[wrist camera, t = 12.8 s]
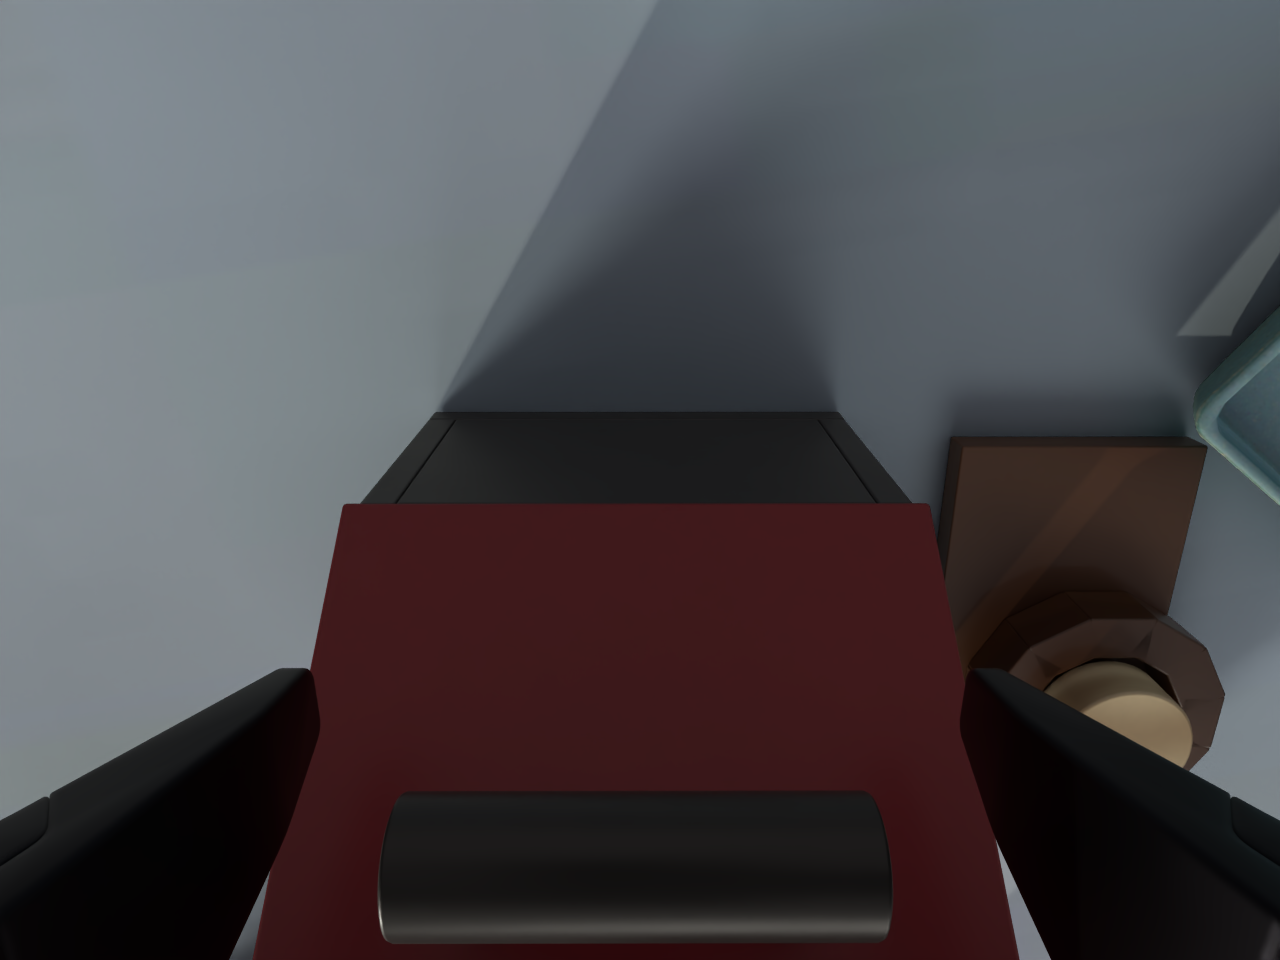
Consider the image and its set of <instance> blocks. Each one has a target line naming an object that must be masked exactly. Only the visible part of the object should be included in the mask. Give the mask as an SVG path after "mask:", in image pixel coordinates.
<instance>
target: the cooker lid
mask: <svg viewBox="0 0 1280 960" xmlns="http://www.w3.org/2000/svg"><path fill="white" fill-rule="evenodd" d="M310 671H311V672H312V675H313V677H314V682H315V688H316V695H317V701H318V708H319V714H320V733H319V737H318V741H317V744H316V747H315V750H314V753H313V756H312V759H311V762H310V765H309V768H308V771H307V774H306V777H305V780H304V783H303V786H302V789H301V792H300V795H299V798H298V801H297V804H296V808H295V811H294V814H293V817H292V820H291V822H290V825H289V828H288V831H287V833H286V836H285V838H284V841H283V843H282V845H281V848H280V850H279V852H278V854H277V856H276V859H275V861H274V863H273V865H272V867H271V870H270V875H269V880H268V885H267V890H266V895H265V900H264V905H263V910H262V915H261V920H260V925H259V930H258V935H257V940H256V945H255V950H254V955H253V960H1020V959H1019V954H1018V949H1017V944H1016V939H1015V934H1014V929H1013V924H1012V919H1011V914H1010V909H1009V904H1008V899H1007V894H1006V889H1005V884H1004V879H1003V874H1002V869H1001V863H1000V858H999V853H998V848H997V843H996V838H995V836H994V833H993V831H992V828H991V825H990V822H989V820H988V817H987V814H986V811H985V808H984V805H983V801H982V798H981V795H980V792H979V789H978V786H977V783H976V780H975V777H974V774H973V771H972V768H971V765H970V762H969V759H968V756H967V753H966V750H965V747H964V744H963V741H962V737H961V733H960V714H961V708H962V701H963V695H964V688H965V681H964V676H963V671H962V666H961V661H960V656H959V651H958V646H957V641H956V636H955V631H954V626H953V621H952V616H951V611H950V606H949V601H948V596H947V590H946V585H945V580H944V575H943V570H942V565H941V560H940V555H939V550H938V545H937V540H936V535H935V530H934V525H933V520H932V515H931V510H930V506H929V504H926V503H748V504H345V505H344V506H343V508H342V513H341V518H340V523H339V528H338V533H337V538H336V543H335V548H334V553H333V558H332V563H331V568H330V573H329V578H328V583H327V588H326V593H325V599H324V604H323V609H322V614H321V619H320V624H319V629H318V634H317V639H316V644H315V649H314V654H313V659H312V664H311V669H310Z"/></svg>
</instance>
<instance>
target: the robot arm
mask: <svg viewBox="0 0 1280 960" xmlns="http://www.w3.org/2000/svg"><path fill="white" fill-rule="evenodd" d="M319 733H320V714H319V708H318V701H317V695H316V688H315V682H314V677H313V675H312V672H311V671H310V670H308V669H306V668H281V669H278V670H276V671H274V672H272V673H270V674H268V675H266V676H265V677H263V678H261V679H259V680H257V681H255V682H254V683H252V684H250V685H248V686H246V687H244V688H243V689H241V690H239V691H237V692H235V693H233V694H232V695H230V696H228V697H226V698H224V699H222V700H221V701H219V702H217V703H215V704H213V705H212V706H210V707H208V708H206V709H204V710H202V711H201V712H199V713H197V714H195V715H193V716H191V717H190V718H188V719H186V720H184V721H182V722H180V723H179V724H177V725H175V726H173V727H171V728H169V729H168V730H166V731H164V732H162V733H160V734H158V735H157V736H155V737H153V738H151V739H149V740H147V741H146V742H144V743H142V744H140V745H138V746H136V747H135V748H133V749H131V750H129V751H127V752H126V753H124V754H122V755H120V756H118V757H116V758H115V759H113V760H111V761H109V762H107V763H105V764H104V765H102V766H100V767H98V768H96V769H94V770H93V771H91V772H89V773H87V774H85V775H83V776H82V777H80V778H78V779H76V780H74V781H72V782H71V783H69V784H67V785H65V786H63V787H61V788H60V789H58V790H56V791H54V792H52V793H51V794H50V799H49V798H48V797H43V798H41V799H39V800H37V801H36V802H34V803H32V804H30V805H28V806H27V807H25V808H23V809H21V810H19V811H17V812H16V813H14V814H12V815H10V816H8V817H6V818H4V819H2V820H0V960H229V958H230V956H231V954H232V952H233V950H234V947H235V945H236V943H237V941H238V939H239V937H240V934H241V932H242V930H243V928H244V926H245V924H246V921H247V919H248V917H249V915H250V913H251V911H252V908H253V906H254V904H255V902H256V900H257V898H258V895H259V893H260V891H261V889H262V887H263V885H264V882H265V880H266V878H267V876H268V874H269V872H270V869H271V867H272V865H273V863H274V861H275V859H276V856H277V854H278V852H279V850H280V848H281V845H282V843H283V841H284V838H285V836H286V833H287V831H288V828H289V825H290V822H291V820H292V817H293V814H294V811H295V808H296V804H297V801H298V798H299V795H300V792H301V789H302V786H303V783H304V780H305V777H306V774H307V771H308V768H309V765H310V762H311V759H312V756H313V753H314V750H315V747H316V744H317V741H318V737H319ZM960 733H961V737H962V741H963V744H964V747H965V750H966V753H967V756H968V759H969V762H970V765H971V768H972V771H973V774H974V777H975V780H976V783H977V786H978V789H979V792H980V795H981V798H982V801H983V805H984V808H985V811H986V814H987V817H988V820H989V822H990V825H991V828H992V831H993V833H994V836H995V838H996V841H997V843H998V845H999V848H1000V850H1001V852H1002V854H1003V856H1004V859H1005V861H1006V863H1007V865H1008V867H1009V869H1010V872H1011V874H1012V876H1013V878H1014V880H1015V882H1016V885H1017V887H1018V889H1019V891H1020V893H1021V895H1022V898H1023V900H1024V902H1025V904H1026V906H1027V908H1028V911H1029V913H1030V915H1031V917H1032V919H1033V921H1034V924H1035V926H1036V928H1037V930H1038V932H1039V934H1040V937H1041V939H1042V941H1043V943H1044V945H1045V947H1046V950H1047V952H1048V954H1049V956H1050V958H1051V960H1280V820H1278V819H1276V818H1274V817H1272V816H1270V815H1268V814H1266V813H1264V812H1263V811H1261V810H1259V809H1257V808H1255V807H1253V806H1252V805H1250V804H1248V803H1246V802H1244V801H1243V800H1241V799H1239V798H1237V797H1232V798H1231V799H1230V794H1229V793H1228V792H1226V791H1224V790H1222V789H1220V788H1219V787H1217V786H1215V785H1213V784H1211V783H1209V782H1208V781H1206V780H1204V779H1202V778H1200V777H1198V776H1197V775H1195V774H1193V773H1191V772H1189V771H1187V770H1186V769H1184V768H1182V767H1180V766H1178V765H1176V764H1175V763H1173V762H1171V761H1169V760H1167V759H1165V758H1164V757H1162V756H1160V755H1158V754H1156V753H1154V752H1153V751H1151V750H1149V749H1147V748H1145V747H1143V746H1142V745H1140V744H1138V743H1136V742H1134V741H1133V740H1131V739H1129V738H1127V737H1125V736H1123V735H1122V734H1120V733H1118V732H1116V731H1114V730H1112V729H1111V728H1109V727H1107V726H1105V725H1103V724H1101V723H1100V722H1098V721H1096V720H1094V719H1092V718H1090V717H1089V716H1087V715H1085V714H1083V713H1081V712H1079V711H1078V710H1076V709H1074V708H1072V707H1070V706H1068V705H1067V704H1065V703H1063V702H1061V701H1059V700H1057V699H1056V698H1054V697H1052V696H1050V695H1048V694H1047V693H1045V692H1043V691H1041V690H1039V689H1037V688H1036V687H1034V686H1032V685H1030V684H1028V683H1026V682H1025V681H1023V680H1021V679H1019V678H1017V677H1015V676H1014V675H1012V674H1010V673H1008V672H1006V671H1004V670H1002V669H999V668H974V669H972V670H970V671H969V672H968V675H967V677H966V682H965V688H964V695H963V701H962V708H961V714H960Z"/></svg>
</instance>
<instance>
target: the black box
mask: <svg viewBox="0 0 1280 960" xmlns="http://www.w3.org/2000/svg"><path fill="white" fill-rule="evenodd" d="M748 503H912V502H911V501H910V500H909V499H908V497H907V496H906V495H905V494H904V492H903V491H902V490H901V489H900V488H899V486H898V485H897V484H896V483H895V481H894V480H893V479H892V478H891V477H890V475H889V474H888V473H887V472H886V470H885V469H884V468H883V467H882V465H881V464H880V463H879V462H878V461H877V459H876V458H875V457H874V456H873V454H872V453H871V452H870V451H869V449H868V448H867V447H866V446H865V445H864V443H863V442H862V441H861V440H860V438H859V437H858V436H857V435H856V433H855V432H854V431H853V430H852V429H851V427H850V426H849V425H848V424H847V422H846V421H845V420H844V418H843V417H842V416H841V415H840V413H839V412H436V413H434V415H433V416H432V417H431V418H430V420H429V421H428V422H427V423H426V424H425V426H424V427H423V428H422V429H421V430H420V432H419V433H418V434H417V435H416V437H415V438H414V439H413V440H412V441H411V443H410V444H409V445H408V446H407V447H406V449H405V450H404V451H403V452H402V454H401V455H400V456H399V457H398V458H397V460H396V461H395V462H394V463H393V464H392V466H391V467H390V468H389V469H388V471H387V472H386V473H385V474H384V475H383V477H382V478H381V479H380V480H379V481H378V483H377V484H376V485H375V486H374V488H373V489H372V490H371V491H370V492H369V494H368V495H367V496H366V497H365V498H364V500H363V501H362V502H361V503H360V504H748Z"/></svg>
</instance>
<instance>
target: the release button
mask: <svg viewBox="0 0 1280 960" xmlns="http://www.w3.org/2000/svg"><path fill="white" fill-rule="evenodd" d="M1044 692H1045V693H1047V694H1048V695H1050V696H1052V697H1054V698H1056V699H1057V700H1059V701H1061V702H1063V703H1065V704H1067V705H1068V706H1070V707H1072V708H1074V709H1076V710H1078V711H1079V712H1081V713H1083V714H1085V715H1087V716H1089V717H1090V718H1092V719H1094V720H1096V721H1098V722H1100V723H1101V724H1103V725H1105V726H1107V727H1109V728H1111V729H1112V730H1114V731H1116V732H1118V733H1120V734H1122V735H1123V736H1125V737H1127V738H1129V739H1131V740H1133V741H1134V742H1136V743H1138V744H1140V745H1142V746H1143V747H1145V748H1147V749H1149V750H1151V751H1153V752H1154V753H1156V754H1158V755H1160V756H1162V757H1164V758H1165V759H1167V760H1169V761H1171V762H1173V763H1175V764H1176V765H1178V766H1180V767H1182V768H1183V767H1184V765H1185V764H1186V762H1187V760H1188V758H1189V755H1190V752H1191V749H1192V744H1193V733H1192V727H1191V724H1190V721H1189V718H1188V716H1187V715H1186V713H1185V712H1184V710H1183V709H1182V708H1181V707H1180V706H1179V705H1178V704H1177V703H1176V702H1175V701H1174V700H1173V699H1172V698H1171V697H1170V696H1169V695H1168V694H1167V693H1166V692H1165V691H1164V690H1163V689H1162V688H1161V687H1160V686H1159V685H1158V684H1157V683H1156V682H1155V681H1154V680H1153V679H1152V678H1151V677H1150V676H1149V675H1148V674H1147V673H1145V672H1144V671H1142V670H1141V669H1139V668H1137V667H1135V666H1132V665H1129V664H1126V663H1122V662H1116V661H1099V662H1093V663H1088V664H1084V665H1081V666H1078V667H1076V668H1073V669H1071V670H1070V671H1068V672H1066V673H1064V674H1063V675H1061V676H1060V677H1058V678H1057V679H1056V680H1054V681H1053V682H1052V683H1051V684H1050V685H1049V686H1048V687H1047V688H1046V689H1045V690H1044Z"/></svg>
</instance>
